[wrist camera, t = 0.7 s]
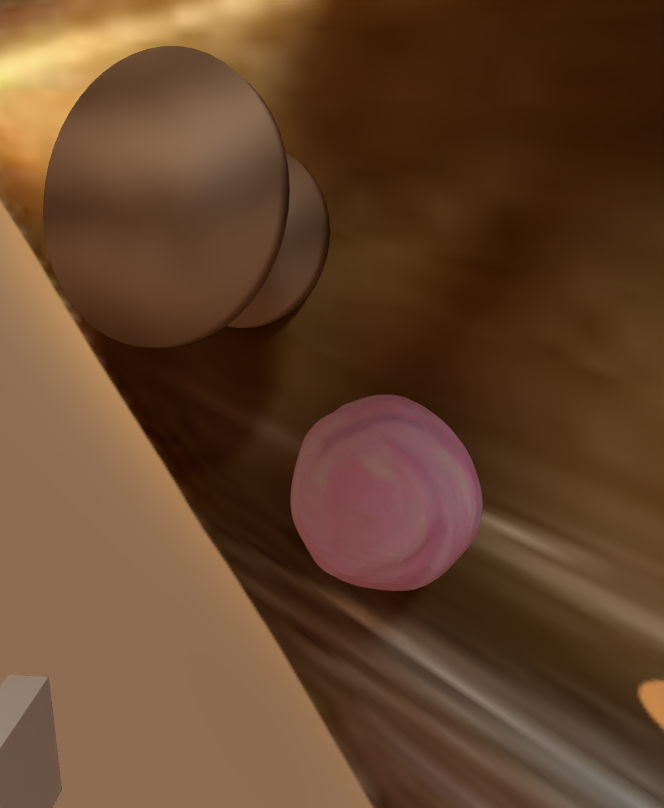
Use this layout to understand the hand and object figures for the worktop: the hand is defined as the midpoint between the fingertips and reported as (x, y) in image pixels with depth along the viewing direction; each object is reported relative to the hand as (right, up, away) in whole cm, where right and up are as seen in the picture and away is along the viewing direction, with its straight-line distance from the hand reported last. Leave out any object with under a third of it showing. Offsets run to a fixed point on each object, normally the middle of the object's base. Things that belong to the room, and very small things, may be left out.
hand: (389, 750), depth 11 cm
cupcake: (+4, +3, +22) cm, 22 cm away
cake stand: (-6, +17, +25) cm, 31 cm away
